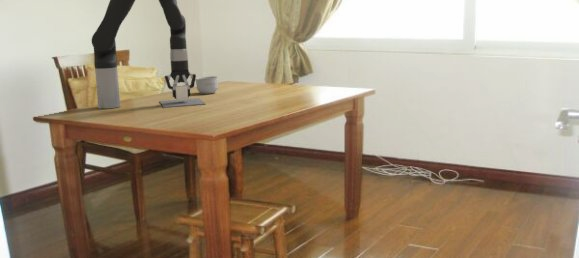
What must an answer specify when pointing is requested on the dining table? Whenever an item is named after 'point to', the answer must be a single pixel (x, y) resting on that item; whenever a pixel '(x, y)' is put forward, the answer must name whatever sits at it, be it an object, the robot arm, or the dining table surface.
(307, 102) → the dining table surface
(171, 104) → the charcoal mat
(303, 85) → the dining table surface
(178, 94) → the cream block
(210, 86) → the teacup
